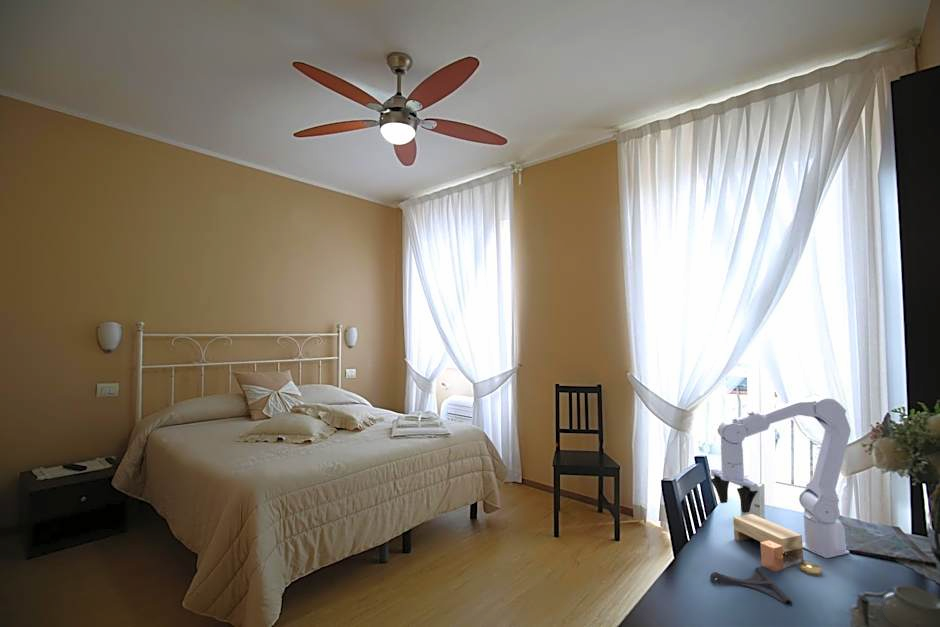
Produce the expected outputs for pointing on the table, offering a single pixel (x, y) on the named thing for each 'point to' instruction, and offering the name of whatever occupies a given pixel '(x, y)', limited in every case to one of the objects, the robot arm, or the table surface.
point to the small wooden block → (776, 556)
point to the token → (810, 568)
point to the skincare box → (757, 503)
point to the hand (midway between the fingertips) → (734, 507)
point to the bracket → (754, 584)
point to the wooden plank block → (767, 533)
